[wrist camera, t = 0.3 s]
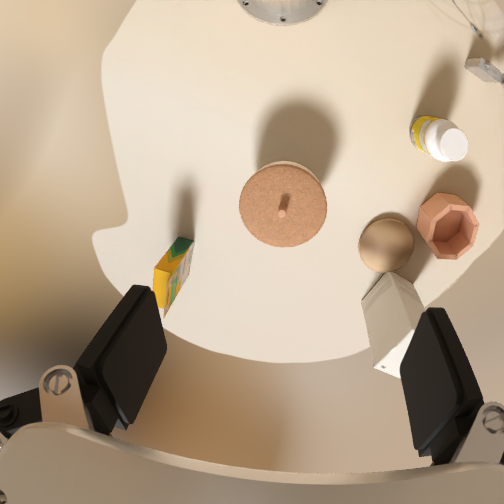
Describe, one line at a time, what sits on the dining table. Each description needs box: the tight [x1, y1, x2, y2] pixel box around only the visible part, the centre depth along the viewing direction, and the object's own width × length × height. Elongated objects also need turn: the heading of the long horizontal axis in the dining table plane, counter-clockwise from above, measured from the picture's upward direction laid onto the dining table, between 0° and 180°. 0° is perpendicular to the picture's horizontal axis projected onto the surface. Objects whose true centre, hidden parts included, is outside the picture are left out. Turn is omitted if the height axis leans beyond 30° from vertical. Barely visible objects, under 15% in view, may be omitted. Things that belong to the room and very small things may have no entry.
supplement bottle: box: [409, 115, 468, 162], centre depth 32 cm, size 5×5×10 cm
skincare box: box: [361, 271, 426, 378], centre depth 43 cm, size 8×7×16 cm
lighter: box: [465, 58, 504, 87], centre depth 26 cm, size 7×2×8 cm, turn 73°
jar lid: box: [358, 218, 414, 273], centre depth 45 cm, size 9×9×1 cm
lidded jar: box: [239, 161, 327, 247], centre depth 40 cm, size 11×11×9 cm
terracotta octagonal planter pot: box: [416, 192, 479, 260], centre depth 40 cm, size 9×9×5 cm
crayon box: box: [153, 237, 194, 317], centre depth 47 cm, size 7×3×12 cm, turn 166°
